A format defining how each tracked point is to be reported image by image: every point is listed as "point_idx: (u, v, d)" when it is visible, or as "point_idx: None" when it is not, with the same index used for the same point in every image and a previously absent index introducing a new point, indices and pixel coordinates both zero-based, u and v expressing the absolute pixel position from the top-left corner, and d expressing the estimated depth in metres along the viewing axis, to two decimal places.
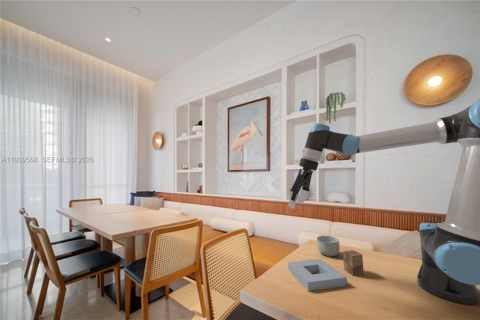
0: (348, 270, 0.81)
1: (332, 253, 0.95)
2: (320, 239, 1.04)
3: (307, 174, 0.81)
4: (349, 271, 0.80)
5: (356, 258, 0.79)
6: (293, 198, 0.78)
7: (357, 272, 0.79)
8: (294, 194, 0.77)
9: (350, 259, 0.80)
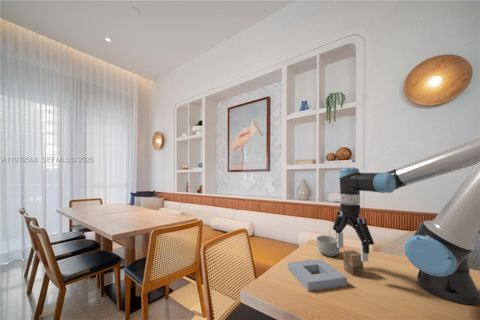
0: (348, 270, 0.81)
1: (332, 253, 0.95)
2: (320, 239, 1.04)
3: None
4: (349, 271, 0.80)
5: (356, 258, 0.79)
6: (368, 251, 0.74)
7: (357, 272, 0.79)
8: (367, 246, 0.74)
9: (350, 259, 0.80)
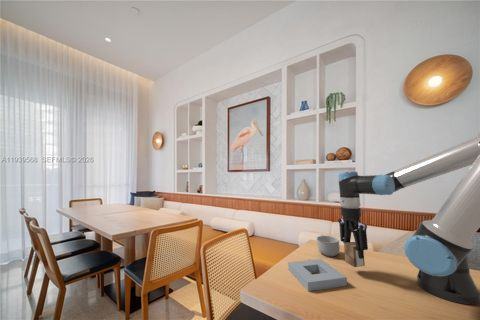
0: (349, 262, 0.80)
1: (332, 253, 0.95)
2: (320, 239, 1.04)
3: None
4: (351, 263, 0.80)
5: None
6: (362, 256, 0.77)
7: None
8: (362, 252, 0.77)
9: (351, 250, 0.80)
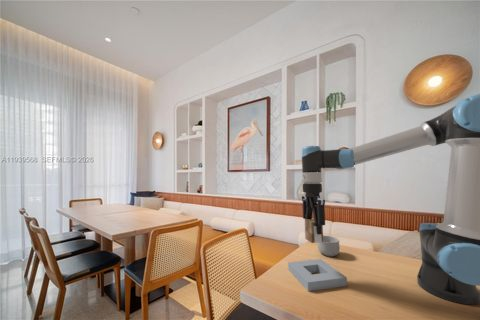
0: (308, 238, 0.78)
1: (332, 253, 0.95)
2: None
3: None
4: (309, 239, 0.78)
5: None
6: (320, 232, 0.75)
7: None
8: (320, 227, 0.75)
9: (310, 226, 0.77)
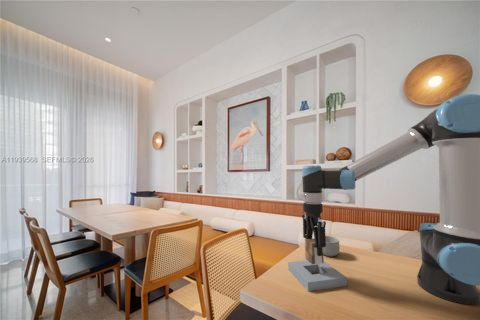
0: (308, 259, 0.78)
1: (332, 253, 0.95)
2: None
3: None
4: (309, 260, 0.77)
5: None
6: (320, 253, 0.74)
7: None
8: (320, 249, 0.74)
9: (310, 247, 0.77)
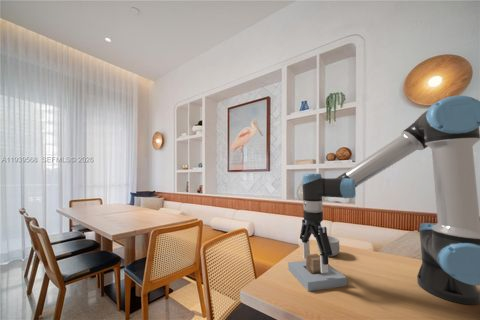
0: None
1: (332, 253, 0.95)
2: None
3: None
4: None
5: (317, 263, 0.76)
6: (327, 262, 0.71)
7: None
8: (326, 257, 0.71)
9: (311, 263, 0.76)
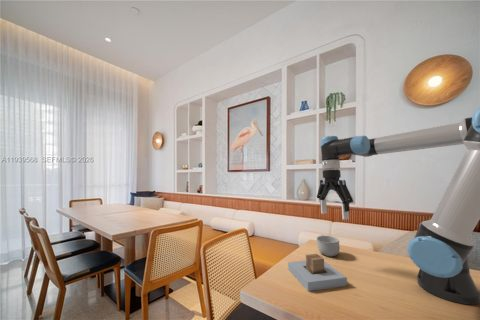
0: None
1: (332, 253, 0.95)
2: (320, 239, 1.04)
3: None
4: None
5: (317, 263, 0.76)
6: (348, 209, 0.80)
7: None
8: (348, 205, 0.80)
9: (311, 263, 0.76)
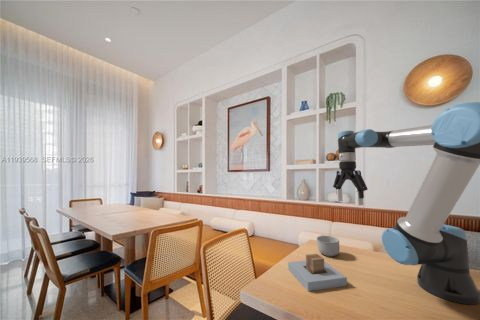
0: None
1: (332, 253, 0.95)
2: (320, 239, 1.04)
3: None
4: None
5: (317, 263, 0.76)
6: (362, 196, 0.89)
7: None
8: (362, 192, 0.89)
9: (311, 263, 0.76)
